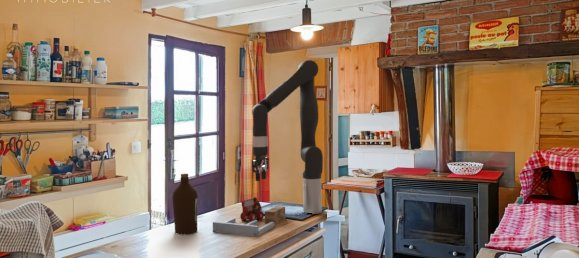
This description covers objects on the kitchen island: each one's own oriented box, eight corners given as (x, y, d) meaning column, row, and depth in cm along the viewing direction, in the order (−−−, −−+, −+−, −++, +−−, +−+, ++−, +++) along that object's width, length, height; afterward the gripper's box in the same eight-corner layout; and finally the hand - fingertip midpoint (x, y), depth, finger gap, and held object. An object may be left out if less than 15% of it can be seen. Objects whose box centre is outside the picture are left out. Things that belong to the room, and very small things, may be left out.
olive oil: (174, 236, 192) (172, 176, 191) (172, 229, 202) (171, 173, 201) (200, 233, 195) (198, 175, 194) (197, 227, 205) (195, 171, 204)
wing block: (276, 218, 220) (276, 206, 220) (285, 219, 218) (285, 206, 218) (265, 224, 209) (264, 211, 209) (273, 225, 207) (273, 212, 207)
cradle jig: (232, 222, 214) (232, 213, 213) (274, 226, 205) (274, 217, 205) (212, 231, 199) (212, 222, 198) (257, 236, 190) (256, 226, 190)
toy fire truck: (266, 218, 220) (266, 196, 219) (248, 223, 210) (248, 201, 210) (256, 216, 224) (255, 195, 224) (237, 221, 215) (237, 199, 214)
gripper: (260, 147, 216) (261, 182, 217) (273, 144, 229) (274, 178, 230) (246, 146, 219) (247, 181, 220) (260, 144, 232) (261, 177, 233)
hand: (261, 179), depth 225 cm, fingers open, 5 cm apart
